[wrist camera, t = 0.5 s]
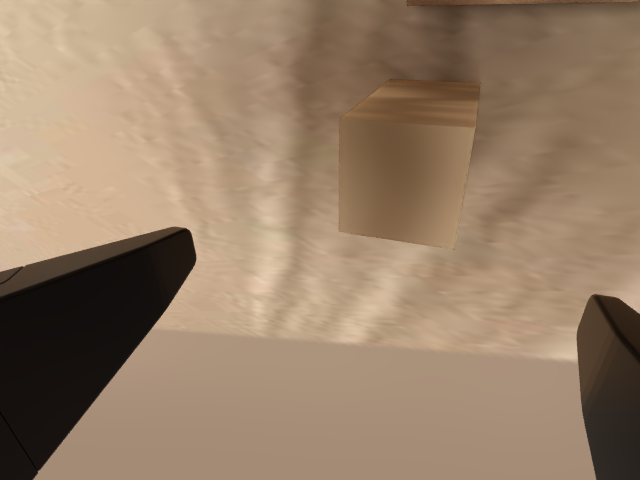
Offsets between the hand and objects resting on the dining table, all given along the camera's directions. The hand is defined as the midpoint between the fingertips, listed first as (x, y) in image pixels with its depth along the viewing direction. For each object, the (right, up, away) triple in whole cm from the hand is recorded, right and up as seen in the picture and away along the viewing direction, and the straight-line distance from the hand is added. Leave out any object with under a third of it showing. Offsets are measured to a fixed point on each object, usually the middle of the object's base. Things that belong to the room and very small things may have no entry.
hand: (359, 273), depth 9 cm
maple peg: (+4, +6, +10) cm, 13 cm away
